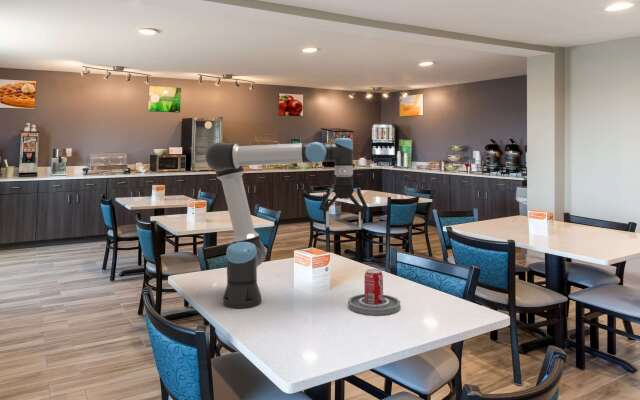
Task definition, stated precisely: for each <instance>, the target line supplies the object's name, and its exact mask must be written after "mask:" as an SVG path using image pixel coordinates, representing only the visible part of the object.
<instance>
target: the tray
mask: <svg viewBox="0 0 640 400" xmlns="http://www.w3.org/2000/svg"><path fill="white" fill-rule="evenodd" d="M347 307H348V309H349V310H350V311H351V312H353V313H356V314H359V315H364V316H377V317H378V316H379V317H380V316H388V315H393V314H396V313H398V312H400V310H401V300H399V299H398V298H397V297H394V296H391V295H388V294H383V303H382V304H380V305H370V304H366V303H365V293H361V294H357V295H353V296H351V297H349V299H348V301H347Z"/></svg>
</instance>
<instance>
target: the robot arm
mask: <svg viewBox="0 0 640 400" xmlns="http://www.w3.org/2000/svg"><path fill="white" fill-rule="evenodd" d="M204 159H205V162H206V164H207V166H208V167H209V168H210V169H211V170H213V171H215V176H216V179H218V180H219V181H221V184H222V188H223V189H222V190H223V193H224V197H225V202H226V205H227V210H228V213H229V218H230V222H231V226H232V230H233V234H234V237H233V239H232V241H231V242H232V243H231V244H229V245H228V246H227V248H226V254H225V257H226V280H227V281H226V282H227V283H226V288H225V290H224V294H223V299H222V305H223V306H225V307H227V306H228V308H230V307H232V308H231V309H248V307H249V308H253V307H257V306H258V305H260V304H262V294H261V290H260V287H259V286H258V271H257V270H258V267H259V266H260V265H262V263H263V262H264V260H265V258H266V247H265V245H264V244H263V242H262V241H261V237H260V234H259V233H258V232H256V230H255V226H254V223H253V218H252V216H251V215H252V213H251V210H250V206H249V202H248V201H249V200H248V198H247V194H246V193H247V192H246V190H245V189H246V188H245V185H244V181H243V175H244V173H245V169H244V166H260V165H261V166H262V165H281V164H302V163H304V164H305V163H315V164H316V163H321V162H334V175H335V177H334V188H332V187H327V188H326V193H325V196H324V197H323V199H322V201H321V203H320V205H319V207H318V209H319V210H320V211H322V212H323V219H324V220H325V228H329V227H330V210H328V209H330V208H331V206H332V205H334V203H335V202H336V200H338V199H340V200H341V199H344V200H348V199H349V200H350V201H351V202H352V203H353V204H354V205H355V207H356V208H357V209H358V210H359V212H358V229H362V221H364V219H365V212H368V210H369V206H368V204H367V202H366V201H365V198H364V195H363V194H362V191H361V190H362V189H361V187H357V188H354V186H353V185H354V177H353V175H354V142H353V139H352V138H350V137H339V138H338V137H336V138H335V139H334V141H333V142H330V143H329V142H328V143H327V142H325V143H324V142H323V143H322V142H319V141H313V142H302V143H301V142H298V143H277V144H275V143H274V144H257V145H256V144H254V145H238V144H237V143H232V142H215V143H213V144H211V145H210V146H209V147H208V148H207V149H206V151H205V158H204ZM354 192H355V194H357V197H358V198H359V200H360V202H361V204H362V205H361V204H360V203H359V202H358V200H357V199H356V198H355V197H354V195H353V194H354ZM332 193H334V194H335V195H334V196H333V198H331V200H330V201H329V202H328V203H327V201H328V200H329V199H328V198H329V197H330V195H331V194H332ZM326 203H327V204H326ZM325 205H326V206H325Z"/></svg>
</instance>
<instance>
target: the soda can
mask: <svg viewBox="0 0 640 400" xmlns="http://www.w3.org/2000/svg"><path fill="white" fill-rule="evenodd" d="M364 294H365V303H366V304H370V305H380V304H382V303H383V295H384V274H383V271H382V270H381V269H378V268H370V269H366V270H365V273H364Z"/></svg>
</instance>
